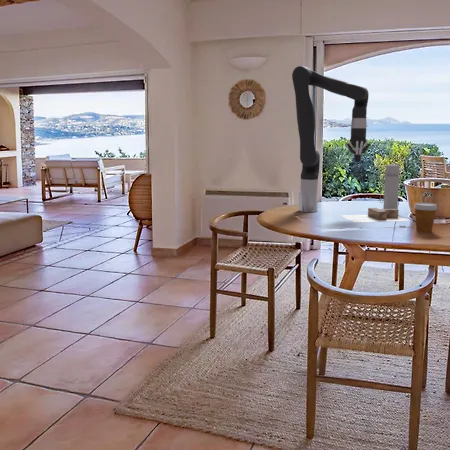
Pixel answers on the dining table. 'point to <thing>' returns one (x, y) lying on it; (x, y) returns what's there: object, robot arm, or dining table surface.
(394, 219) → the board
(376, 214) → the tee block
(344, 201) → the dining table surface
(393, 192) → the water bottle
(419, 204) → the disposable coffee cup
